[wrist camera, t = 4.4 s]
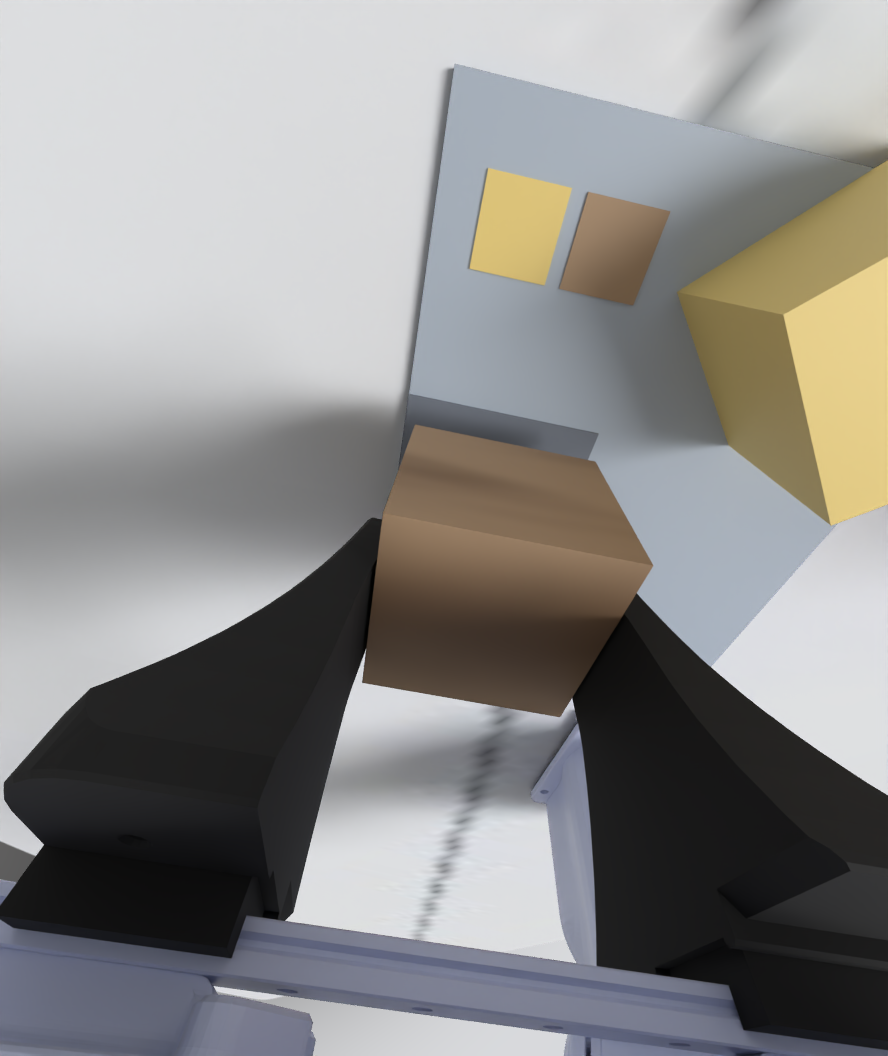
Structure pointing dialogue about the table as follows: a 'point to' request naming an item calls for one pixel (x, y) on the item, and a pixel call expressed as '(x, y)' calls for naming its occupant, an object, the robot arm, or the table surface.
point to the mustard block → (806, 350)
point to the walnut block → (497, 573)
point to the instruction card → (611, 323)
